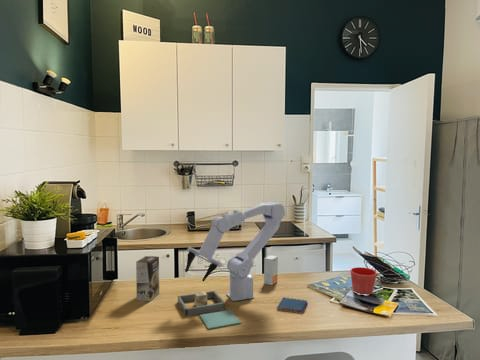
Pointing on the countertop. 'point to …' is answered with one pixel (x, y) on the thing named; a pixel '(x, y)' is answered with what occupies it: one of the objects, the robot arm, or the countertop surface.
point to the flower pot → (363, 280)
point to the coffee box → (147, 278)
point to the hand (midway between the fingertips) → (194, 276)
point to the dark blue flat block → (292, 305)
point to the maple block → (200, 298)
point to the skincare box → (270, 269)
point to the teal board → (219, 319)
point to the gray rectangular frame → (201, 309)
